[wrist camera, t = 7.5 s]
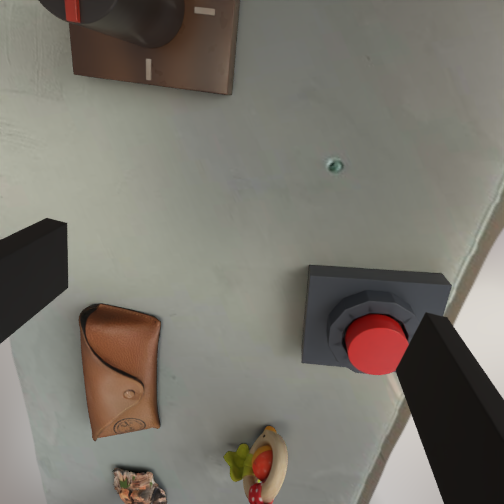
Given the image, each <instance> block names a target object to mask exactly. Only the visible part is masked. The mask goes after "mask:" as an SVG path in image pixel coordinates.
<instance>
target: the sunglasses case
mask: <svg viewBox="0 0 504 504" xmlns="http://www.w3.org/2000/svg"><path fill="white" fill-rule="evenodd" d="M79 326H80V335H81V353H82V363H83V373H84V381H85V389H86V398H87V405H88V413H89V418H90V423H91V428H92V438H93V440H94V441H96V439H97V438H101V437H107V436H112V435H117V434H123V433H128V432H134V431H139V430H143V429H148V428H152V427H153V428H157V429H158V428H160V420H159V414H158V407H157V353H158V342H159V336H160V329H161V321H159V320H158V319H157V318H156V317H154V316H151V315H148V314H144V313H141V312H138V311H134V310H130V309H125V308H121V307H116V306H111V305H106V304H95V305H92V306H89V307H87V308H85V309H84V310H83V311H82V312H81V313H80V316H79Z"/></svg>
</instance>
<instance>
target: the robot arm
mask: <svg viewBox="0 0 504 504" xmlns="http://www.w3.org/2000/svg"><path fill="white" fill-rule="evenodd" d="M67 288H68V248H67V223H65V222H61V221H57V220H53V219H49V218H46V219H43V220H41V221H39V222H37V223H35V224H33V225H31V226H29V227H27V228H25V229H22V230H20V231H18V232H16V233H14V234H12V235H10V236H8V237H6V238H4V239H1V240H0V343H2V342H3V341H4V340H5V339H6V338H8V337H9V336H10V335H11V334H13V333H14V332H15V331H16V330H17V329H19V328H20V327H21V326H22V325H23V324H25V323H26V322H27V321H28V320H30V319H31V318H32V317H33V316H34V315H36V314H37V313H38V312H39V311H40V310H42V309H43V308H44V307H45V306H46V305H48V304H49V303H50V302H51V301H53V300H54V299H55V298H56V297H57V296H59V295H60V294H61V293H62V292H63V291H65V290H66V289H67ZM396 373H397V376H398V378H399V381H400V384H401V387H402V389H403V392H404V395H405V398H406V400H407V403H408V406H409V409H410V411H411V414H412V417H413V420H414V422H415V425H416V428H417V430H418V433H419V436H420V439H421V442H422V444H423V447H424V450H425V452H426V455H427V458H428V460H429V464H430V466H431V469H432V472H433V474H434V477H435V480H436V483H437V485H438V488H439V491H440V494H441V496H442V499H443V502H444V504H504V400H503V398H502V397H501V395H500V394H499V392H498V391H497V389H496V388H495V386H494V385H493V384H492V382H491V381H490V379H489V378H488V376H487V375H486V373H485V372H484V371H483V369H482V368H481V366H480V365H479V363H478V362H477V360H476V359H475V357H474V356H473V355H472V353H471V352H470V350H469V349H468V347H467V346H466V344H465V343H464V341H463V340H462V339H461V337H460V336H459V334H458V333H457V331H456V330H455V328H454V327H453V325H452V324H451V322H450V321H449V320H448V318H447V317H443V316H439V315H435V314H431V313H427V312H425V314H424V316H423V318H422V320H421V322H420V324H419V326H418V328H417V330H416V332H415V334H414V336H413V337H412V339H411V341H410V343H409V345H408V347H407V349H406V351H405V353H404V355H403V357H402V359H401V360H400V362H399V364H398V366H397V368H396Z"/></svg>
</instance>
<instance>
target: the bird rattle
mask: <svg viewBox="0 0 504 504" xmlns="http://www.w3.org/2000/svg"><path fill="white" fill-rule="evenodd" d="M224 459H225V461H226V462H227V463H228V465H229V466H230V477H231V479H232V480H233V481H234V482H237V481H239V480H242V479H243V485H244V490H245V494H246V496H247V498H248V500H249V502H250V504H272V502H273V500H274V498H275V496H276V495H277V494H278V492H279V490H280V488H281V486H282V483H283V481H284V478H285V474H286V470H287V462H288V453H287V447H286V444H285V442H284V440H283V438H282V437H281V436H280V435H279V434H277V433H276V430H275V428H273V427H271V426H267V427H266V428H265V430H264V432H263V433H262V434H261V435H260V436H259V437H258V438H257V440H256V441H255V443H254V444H253V446H252V448H251V449H250V450H249V447H248V445H247V444H241V445H240V446H239V447H238V449H237V451H236V452H231V451H228V452H227V453H226V454H225V455H224ZM260 481H262V483H259V482H260Z"/></svg>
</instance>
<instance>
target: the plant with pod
mask: <svg viewBox="0 0 504 504" xmlns="http://www.w3.org/2000/svg"><path fill="white" fill-rule="evenodd" d="M113 471H114V474H115V477H114V483H115V484H113V485H114V486H115V490H117V492H118V494H119V495H120V498H121V499H122V500H123V501H124V503H125V504H151V503H152V504H165V503H166V504H167V502H166V495H165V492H164V490H162V489H161V488H158V484H157V483H155V482H154V480H153V474H152V473H150V472H146V474H145V473H144V472H142V473H141V474H139V473H136V475H137V476H136V475H135V473H134V472H133V475H132V472H129V473H128V470H127V471H125V470H124V471H121V469H119V468H115V469H114V470H113Z"/></svg>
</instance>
